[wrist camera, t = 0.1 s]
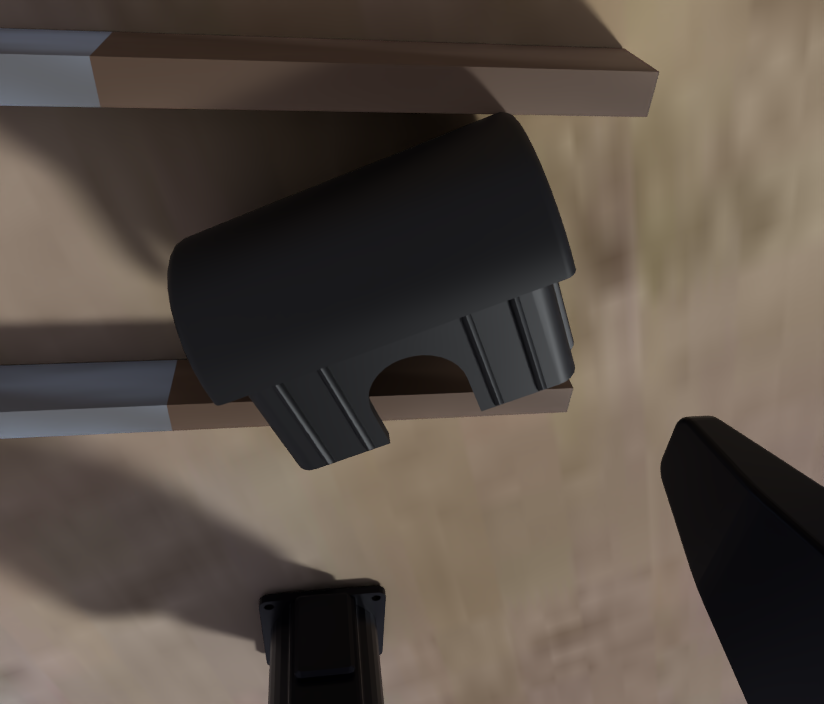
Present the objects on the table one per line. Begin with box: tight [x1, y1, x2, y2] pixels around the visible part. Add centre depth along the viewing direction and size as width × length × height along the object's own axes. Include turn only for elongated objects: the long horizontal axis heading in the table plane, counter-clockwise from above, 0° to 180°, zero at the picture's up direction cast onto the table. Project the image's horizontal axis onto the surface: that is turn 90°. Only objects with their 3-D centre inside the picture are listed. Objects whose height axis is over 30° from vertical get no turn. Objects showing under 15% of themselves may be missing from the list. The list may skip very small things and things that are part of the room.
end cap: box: [167, 112, 576, 470], centre depth 20 cm, size 10×7×7 cm
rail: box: [0, 28, 659, 439], centre depth 21 cm, size 12×29×2 cm, turn 86°
